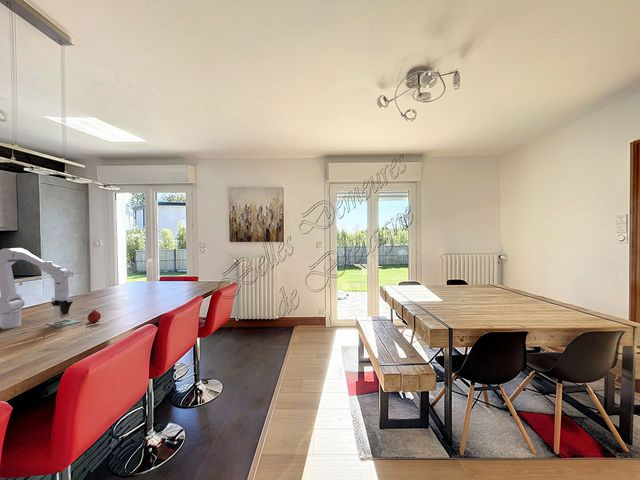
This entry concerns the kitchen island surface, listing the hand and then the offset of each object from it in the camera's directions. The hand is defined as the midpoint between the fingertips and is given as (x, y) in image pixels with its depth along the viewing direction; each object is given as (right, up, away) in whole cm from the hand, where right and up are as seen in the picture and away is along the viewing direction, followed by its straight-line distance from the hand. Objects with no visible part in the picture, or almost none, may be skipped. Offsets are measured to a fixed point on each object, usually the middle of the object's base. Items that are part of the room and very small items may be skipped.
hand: (62, 313), depth 153 cm
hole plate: (+2, -6, -1) cm, 6 cm away
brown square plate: (-7, -6, -8) cm, 13 cm away
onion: (+17, -6, +1) cm, 18 cm away
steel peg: (0, -2, 0) cm, 2 cm away
